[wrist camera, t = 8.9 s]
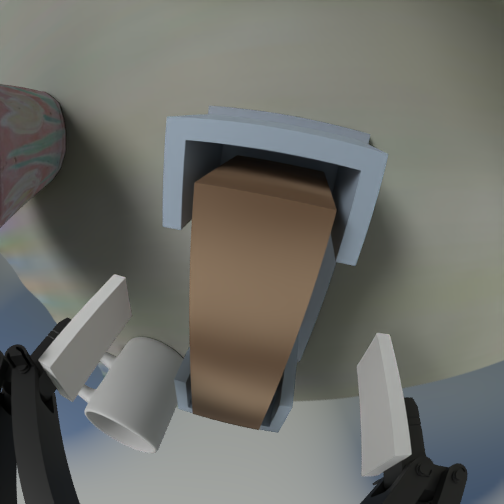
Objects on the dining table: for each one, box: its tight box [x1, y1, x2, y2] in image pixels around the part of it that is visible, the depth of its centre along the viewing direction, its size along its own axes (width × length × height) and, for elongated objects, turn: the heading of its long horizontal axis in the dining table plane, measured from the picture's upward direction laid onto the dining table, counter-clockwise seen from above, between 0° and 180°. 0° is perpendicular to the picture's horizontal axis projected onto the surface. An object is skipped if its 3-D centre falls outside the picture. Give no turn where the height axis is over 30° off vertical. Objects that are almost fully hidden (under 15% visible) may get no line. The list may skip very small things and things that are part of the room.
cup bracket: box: [163, 106, 388, 432], centre depth 17 cm, size 20×10×9 cm, turn 172°
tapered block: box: [189, 155, 337, 430], centre depth 15 cm, size 15×4×6 cm, turn 172°
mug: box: [78, 337, 183, 453], centre depth 25 cm, size 12×8×11 cm
